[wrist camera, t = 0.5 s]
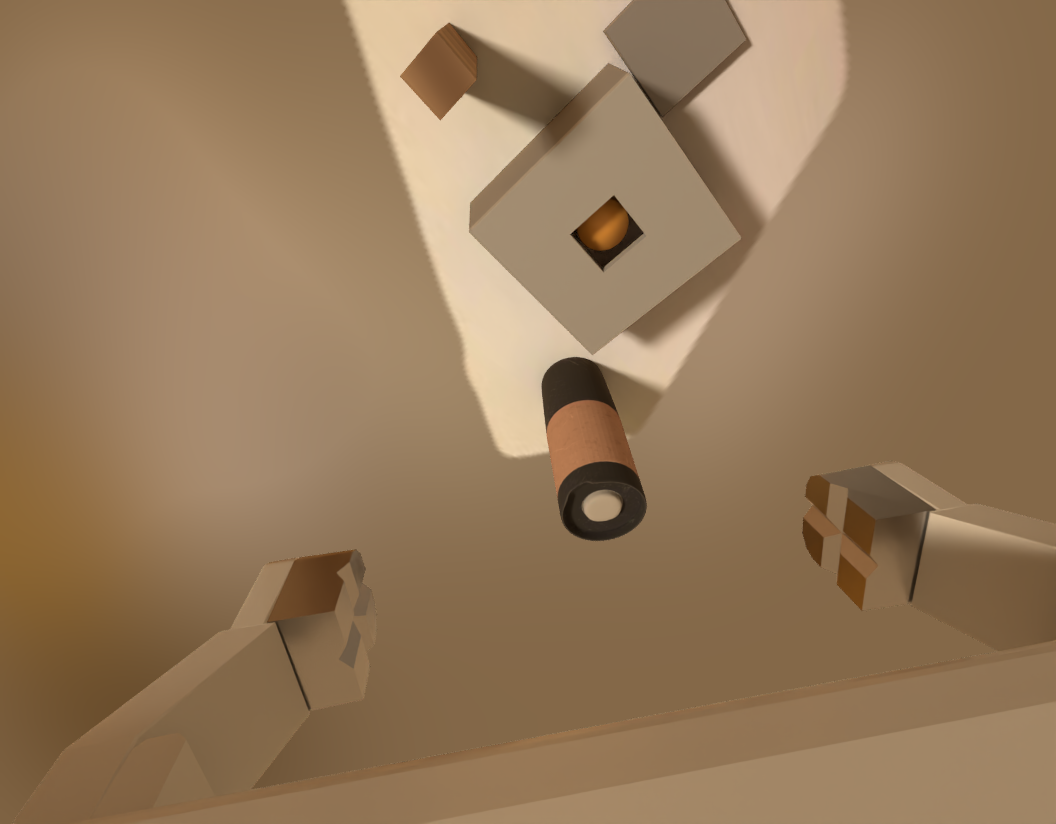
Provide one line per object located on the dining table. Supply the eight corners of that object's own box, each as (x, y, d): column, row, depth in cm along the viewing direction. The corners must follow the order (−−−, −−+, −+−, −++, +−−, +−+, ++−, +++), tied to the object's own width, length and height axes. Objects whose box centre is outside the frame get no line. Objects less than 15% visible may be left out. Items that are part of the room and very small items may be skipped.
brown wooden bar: (449, 22, 42) (436, 31, 30) (477, 56, 44) (476, 79, 31) (422, 54, 44) (399, 76, 31) (450, 86, 45) (440, 120, 32)
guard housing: (608, 63, 45) (630, 73, 38) (709, 209, 52) (741, 238, 46) (470, 203, 51) (469, 232, 44) (579, 316, 58) (592, 355, 52)
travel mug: (599, 410, 66) (639, 542, 50) (536, 409, 65) (555, 542, 49) (610, 355, 61) (657, 480, 45) (542, 353, 61) (565, 479, 45)
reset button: (602, 179, 47) (607, 187, 45) (632, 217, 49) (638, 226, 47) (563, 215, 49) (566, 224, 47) (593, 250, 51) (598, 260, 49)
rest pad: (688, -59, 41) (693, -60, 40) (741, 38, 44) (746, 39, 44) (603, 31, 43) (605, 31, 43) (659, 114, 47) (662, 116, 46)
